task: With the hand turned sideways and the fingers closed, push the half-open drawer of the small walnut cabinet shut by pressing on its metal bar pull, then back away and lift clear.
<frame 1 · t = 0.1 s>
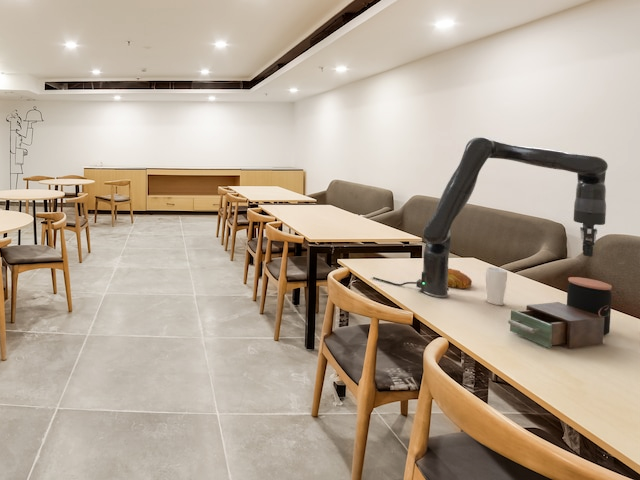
hand: (587, 253, 133), 29 cm above the table, tool pointing down, fingers open, 8 cm apart
drawer: (540, 326, 128), point 5 cm above the table, slide at 7.0 cm
croissant: (452, 284, 180), on the table
coffee jar: (586, 329, 136), on the table
cabinet: (562, 337, 130), on the table
white cup: (494, 303, 158), on the table
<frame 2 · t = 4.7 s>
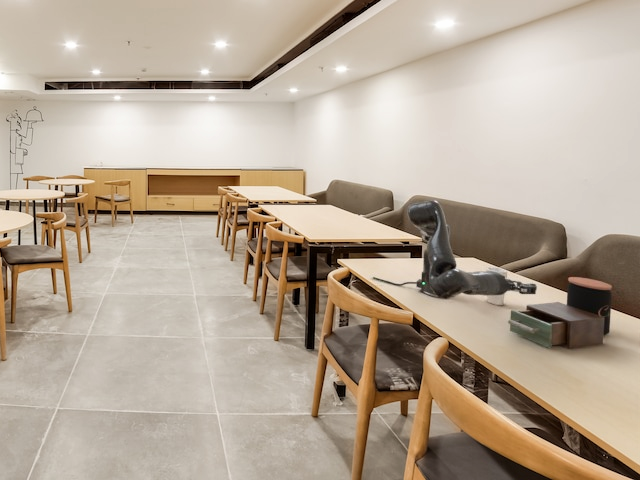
hand: (518, 282, 123), 22 cm above the table, tool horizontal, fingers open, 8 cm apart
nothing on the table moved.
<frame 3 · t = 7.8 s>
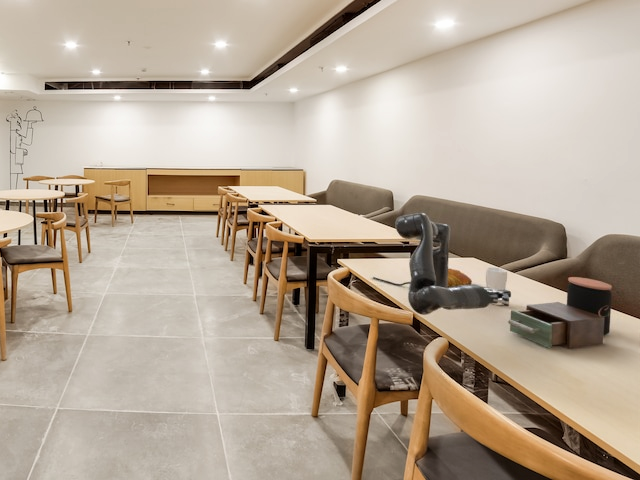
hand: (508, 293, 124), 18 cm above the table, tool horizontal, fingers closed
nothing on the table moved.
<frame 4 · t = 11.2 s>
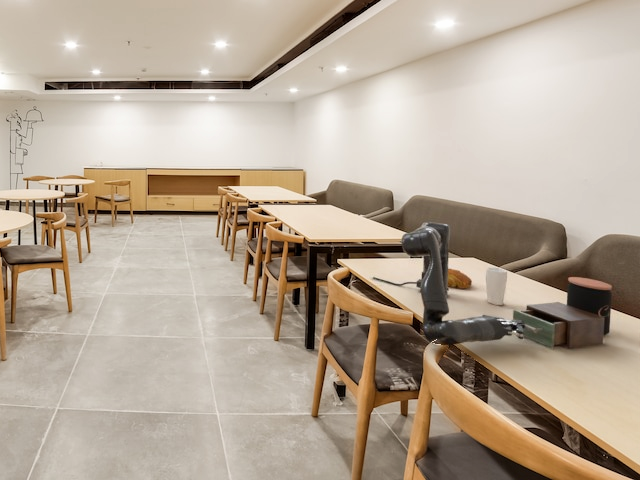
hand: (521, 324, 126), 6 cm above the table, tool horizontal, fingers closed
drawer: (542, 326, 128), point 5 cm above the table, slide at 5.9 cm, touching gripper
everything else where it was.
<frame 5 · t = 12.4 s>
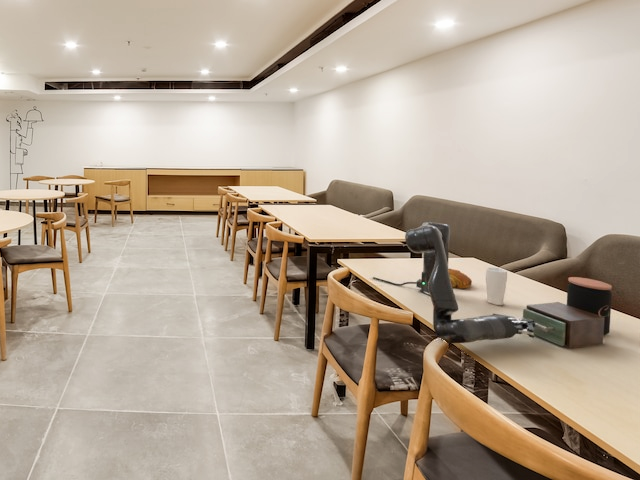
hand: (531, 322, 127), 6 cm above the table, tool horizontal, fingers closed
drawer: (552, 325, 129), point 5 cm above the table, slide at 1.1 cm, touching gripper
everything else where it was.
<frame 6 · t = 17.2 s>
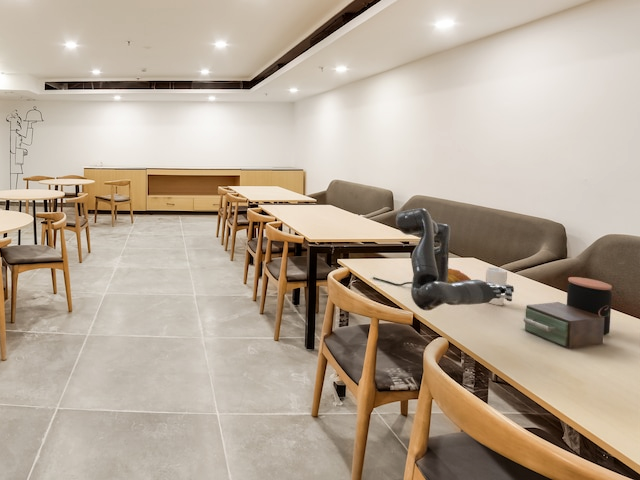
hand: (510, 288, 124), 20 cm above the table, tool horizontal, fingers closed
drawer: (555, 325, 129), point 5 cm above the table, slide at 0.0 cm, touching cabinet
everything else where it was.
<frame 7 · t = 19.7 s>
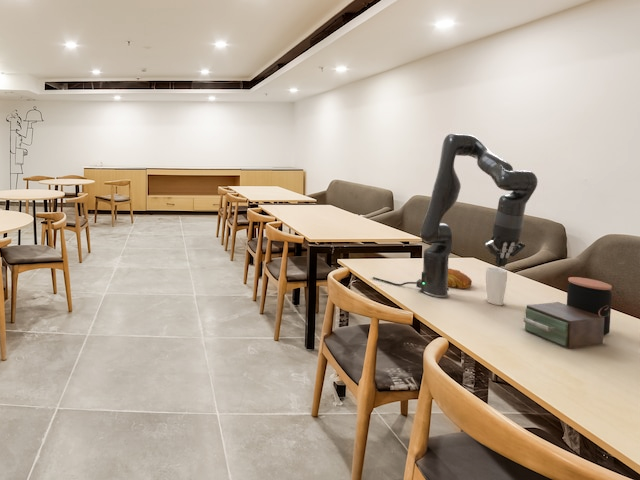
hand: (500, 265, 136), 24 cm above the table, tool pointing down, fingers closed
nothing on the table moved.
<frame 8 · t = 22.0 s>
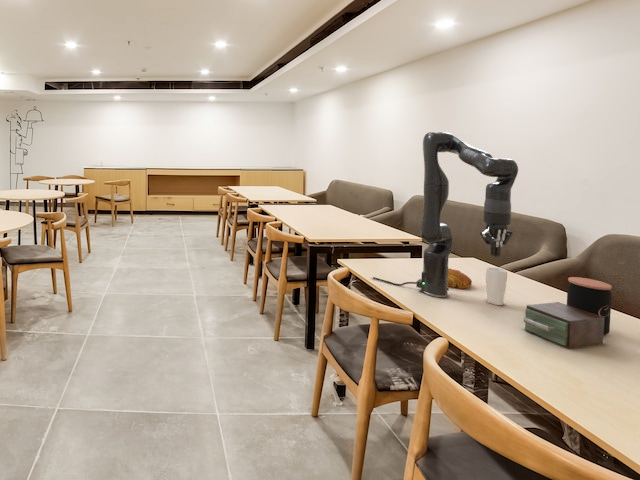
hand: (495, 255, 137), 27 cm above the table, tool pointing down, fingers closed
nothing on the table moved.
at the end: drawer slide at 0.0 cm; coffee jar moved 0.2 cm from its start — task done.
